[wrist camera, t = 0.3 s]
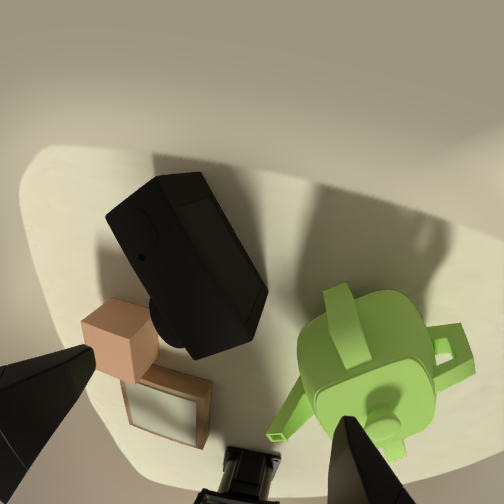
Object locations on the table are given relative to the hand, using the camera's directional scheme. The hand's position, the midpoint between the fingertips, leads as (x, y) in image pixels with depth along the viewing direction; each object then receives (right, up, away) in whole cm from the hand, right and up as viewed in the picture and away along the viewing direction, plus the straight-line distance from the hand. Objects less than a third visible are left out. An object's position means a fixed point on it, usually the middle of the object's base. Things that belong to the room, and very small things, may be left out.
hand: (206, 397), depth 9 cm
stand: (-7, -11, +19) cm, 23 cm away
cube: (-10, -2, +17) cm, 20 cm away
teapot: (+10, -3, +14) cm, 17 cm away
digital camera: (-2, +5, +14) cm, 15 cm away
